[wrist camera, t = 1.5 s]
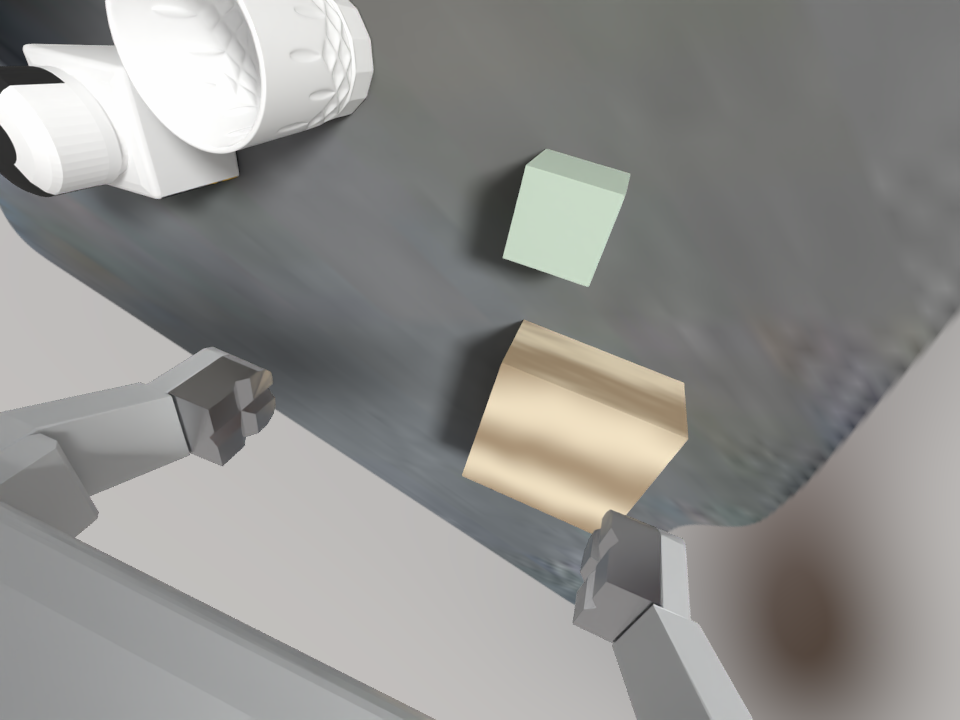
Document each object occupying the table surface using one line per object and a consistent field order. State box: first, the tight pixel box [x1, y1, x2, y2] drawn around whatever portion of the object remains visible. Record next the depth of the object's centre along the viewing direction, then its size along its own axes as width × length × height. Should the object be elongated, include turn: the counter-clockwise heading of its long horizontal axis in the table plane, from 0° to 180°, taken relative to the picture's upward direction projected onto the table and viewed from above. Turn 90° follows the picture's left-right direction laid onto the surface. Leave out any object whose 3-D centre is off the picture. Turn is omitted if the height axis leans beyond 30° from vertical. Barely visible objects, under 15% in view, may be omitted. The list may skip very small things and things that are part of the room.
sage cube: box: [503, 149, 630, 287], centre depth 25 cm, size 5×5×5 cm
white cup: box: [105, 0, 374, 154], centre depth 22 cm, size 8×8×10 cm
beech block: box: [462, 320, 688, 533], centre depth 33 cm, size 12×12×6 cm
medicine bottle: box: [0, 44, 239, 199], centre depth 27 cm, size 7×7×12 cm
